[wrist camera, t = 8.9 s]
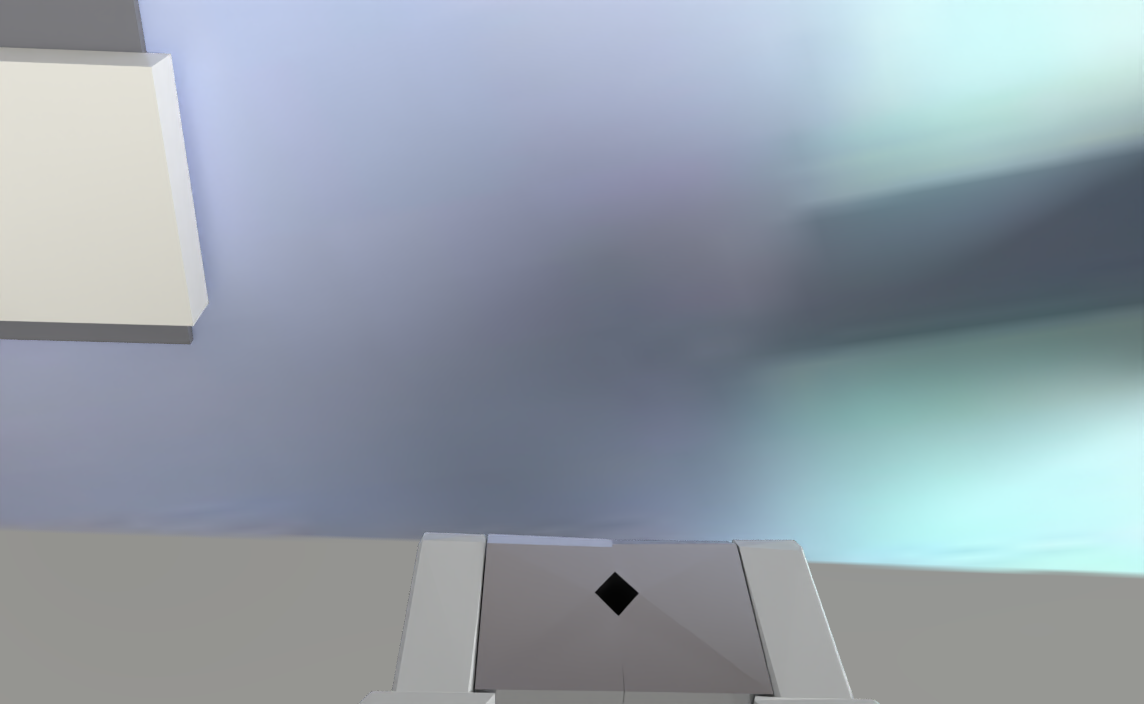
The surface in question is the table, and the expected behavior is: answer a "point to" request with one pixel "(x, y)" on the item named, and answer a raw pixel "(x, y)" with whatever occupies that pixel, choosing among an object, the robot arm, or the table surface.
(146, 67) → the tile
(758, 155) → the table surface
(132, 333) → the mat
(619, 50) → the table surface
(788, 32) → the table surface
